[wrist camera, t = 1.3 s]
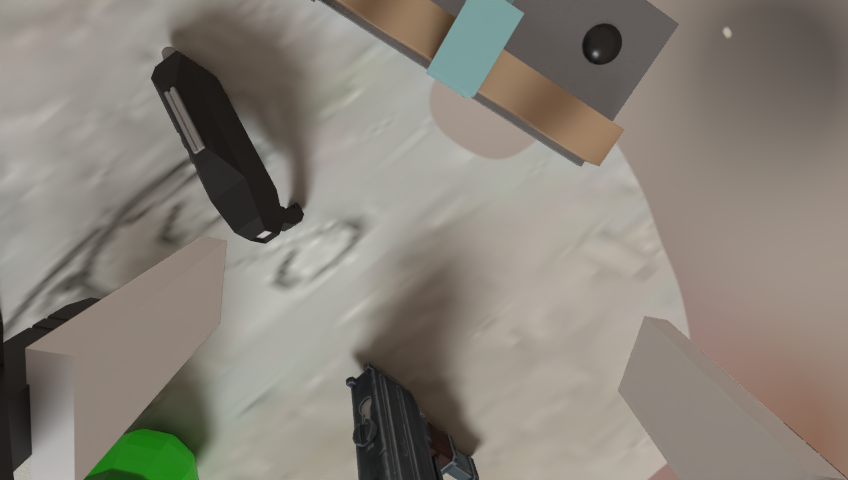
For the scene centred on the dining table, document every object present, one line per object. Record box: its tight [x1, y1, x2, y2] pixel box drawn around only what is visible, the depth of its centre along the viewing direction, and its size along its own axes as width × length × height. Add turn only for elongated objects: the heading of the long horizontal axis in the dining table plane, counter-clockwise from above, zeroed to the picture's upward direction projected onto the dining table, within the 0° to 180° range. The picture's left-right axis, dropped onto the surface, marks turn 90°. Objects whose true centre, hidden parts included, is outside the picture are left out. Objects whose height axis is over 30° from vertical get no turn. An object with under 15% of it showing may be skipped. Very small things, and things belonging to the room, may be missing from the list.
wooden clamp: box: [311, 0, 624, 166], centre depth 30 cm, size 26×10×9 cm, turn 59°
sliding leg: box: [426, 0, 524, 97], centre depth 30 cm, size 3×10×9 cm, turn 149°
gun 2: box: [151, 47, 304, 244], centre depth 35 cm, size 3×16×10 cm, turn 34°
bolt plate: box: [319, 0, 679, 166], centre depth 34 cm, size 26×12×1 cm, turn 59°
